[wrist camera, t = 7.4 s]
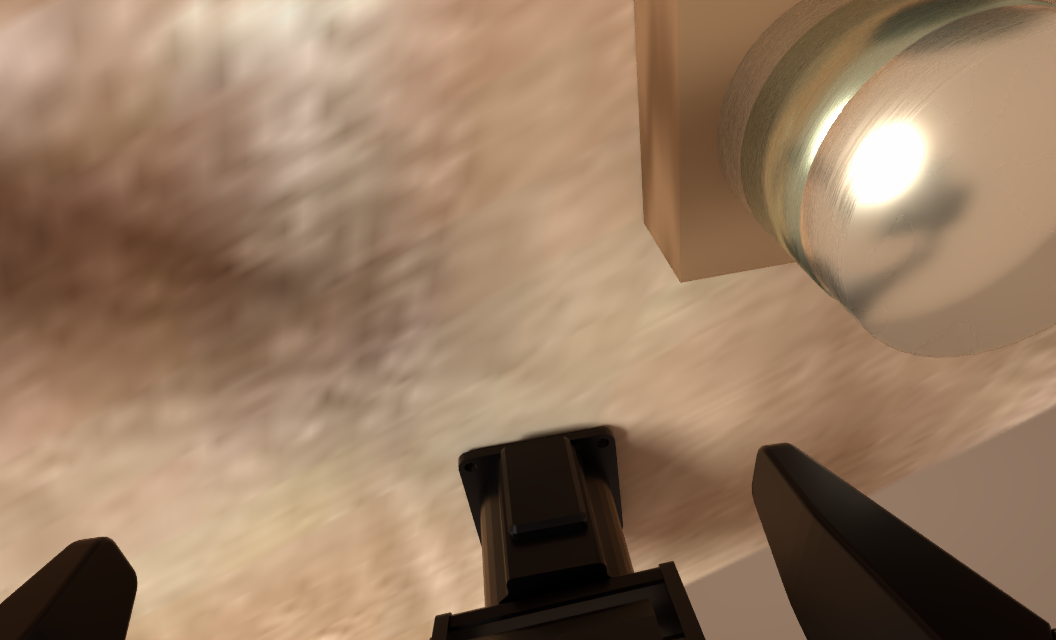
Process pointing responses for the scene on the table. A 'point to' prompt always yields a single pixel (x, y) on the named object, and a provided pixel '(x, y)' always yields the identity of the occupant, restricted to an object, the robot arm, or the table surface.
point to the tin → (907, 162)
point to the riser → (696, 132)
